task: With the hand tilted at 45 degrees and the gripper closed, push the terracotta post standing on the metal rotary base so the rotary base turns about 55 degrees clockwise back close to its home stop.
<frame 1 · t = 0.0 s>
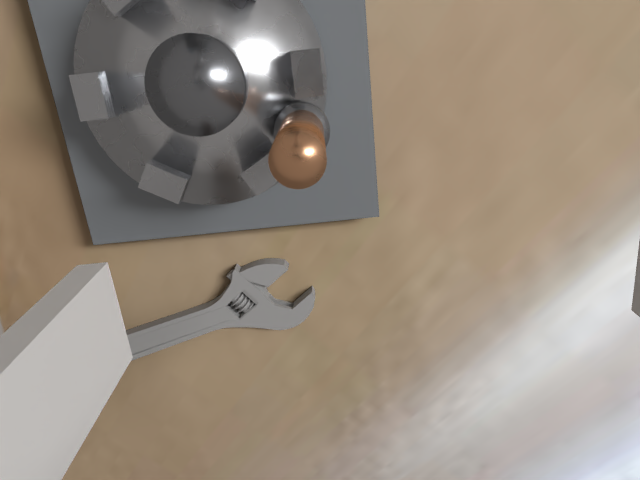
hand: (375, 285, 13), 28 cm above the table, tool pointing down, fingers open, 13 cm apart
adjustable wrench: (173, 316, 45), on the table
base plate: (215, 79, 38), on the table
metal rotary base: (195, 91, 30), point 9 cm above the table, hinge at 60.0°
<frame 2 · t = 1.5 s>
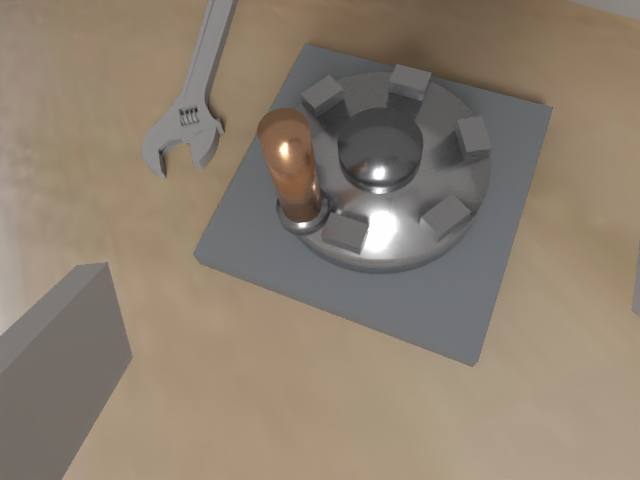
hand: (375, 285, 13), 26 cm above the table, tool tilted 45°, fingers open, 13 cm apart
adjustable wrench: (215, 71, 51), on the table
base plate: (378, 190, 43), on the table
metal rotary base: (376, 132, 35), point 8 cm above the table, hinge at 60.0°
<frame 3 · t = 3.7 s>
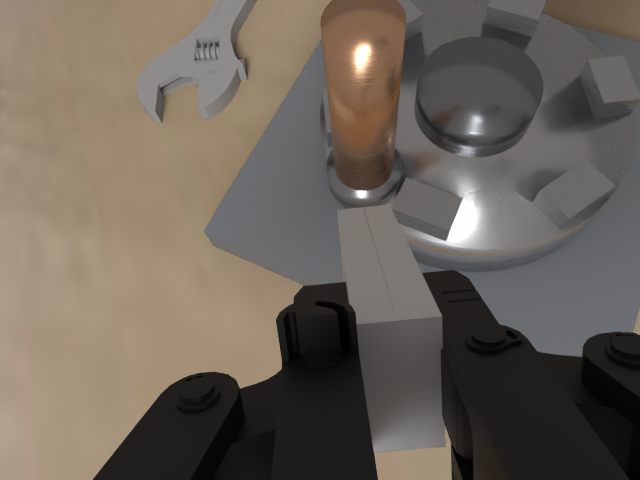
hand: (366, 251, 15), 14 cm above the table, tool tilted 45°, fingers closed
adjustable wrench: (254, 4, 40), on the table
base plate: (456, 161, 32), on the table
metal rotary base: (479, 64, 24), point 8 cm above the table, hinge at 60.0°
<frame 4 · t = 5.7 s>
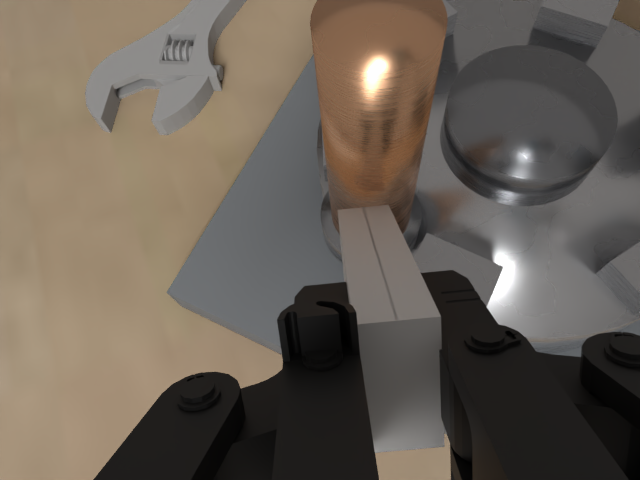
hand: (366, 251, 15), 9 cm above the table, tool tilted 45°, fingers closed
base plate: (488, 199, 26), on the table
metal rotary base: (534, 85, 18), point 9 cm above the table, hinge at 57.4°, touching gripper
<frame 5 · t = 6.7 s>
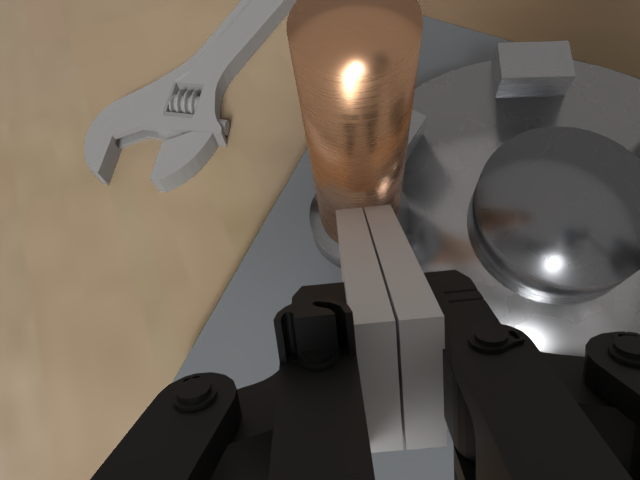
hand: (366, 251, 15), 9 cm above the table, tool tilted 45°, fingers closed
adjustable wrench: (263, 43, 31), on the table
base plate: (514, 272, 24), on the table
metal rotary base: (573, 178, 16), point 8 cm above the table, hinge at 24.2°, touching gripper
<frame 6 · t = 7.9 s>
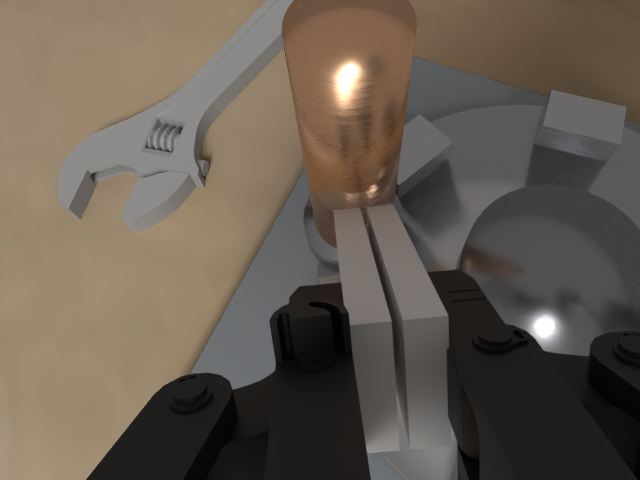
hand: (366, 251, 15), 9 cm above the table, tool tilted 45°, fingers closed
adjustable wrench: (253, 79, 31), on the table
base plate: (505, 324, 23), on the table
metal rotary base: (564, 243, 15), point 9 cm above the table, hinge at 5.3°, touching gripper
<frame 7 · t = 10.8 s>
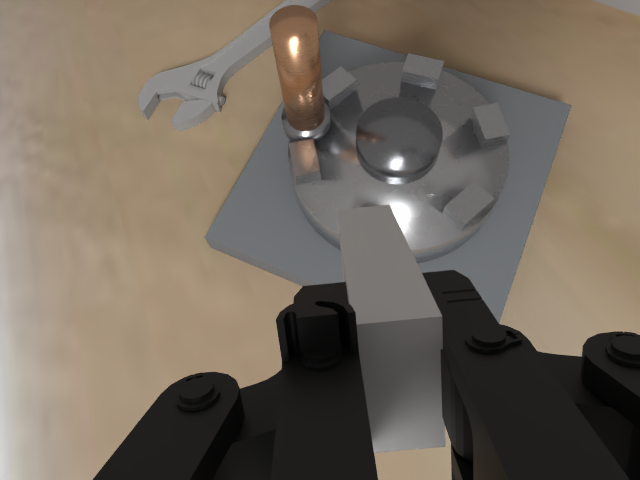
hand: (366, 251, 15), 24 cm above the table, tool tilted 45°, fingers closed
adjustable wrench: (261, 53, 50), on the table
base plate: (392, 181, 43), on the table
metal rotary base: (395, 118, 35), point 9 cm above the table, hinge at 5.2°
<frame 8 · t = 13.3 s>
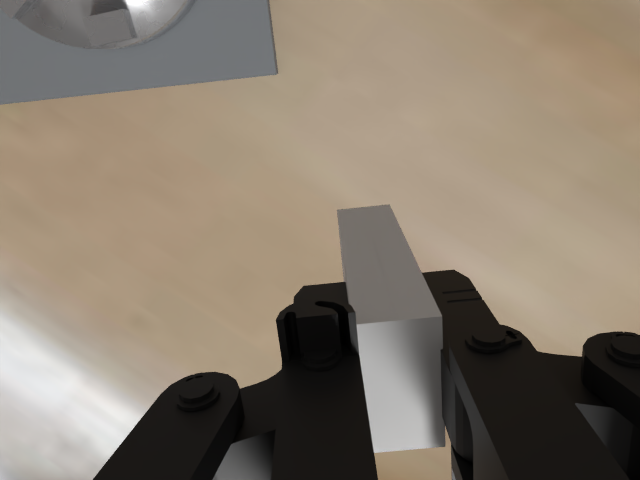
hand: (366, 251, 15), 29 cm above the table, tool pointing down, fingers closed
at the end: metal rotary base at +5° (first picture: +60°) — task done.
